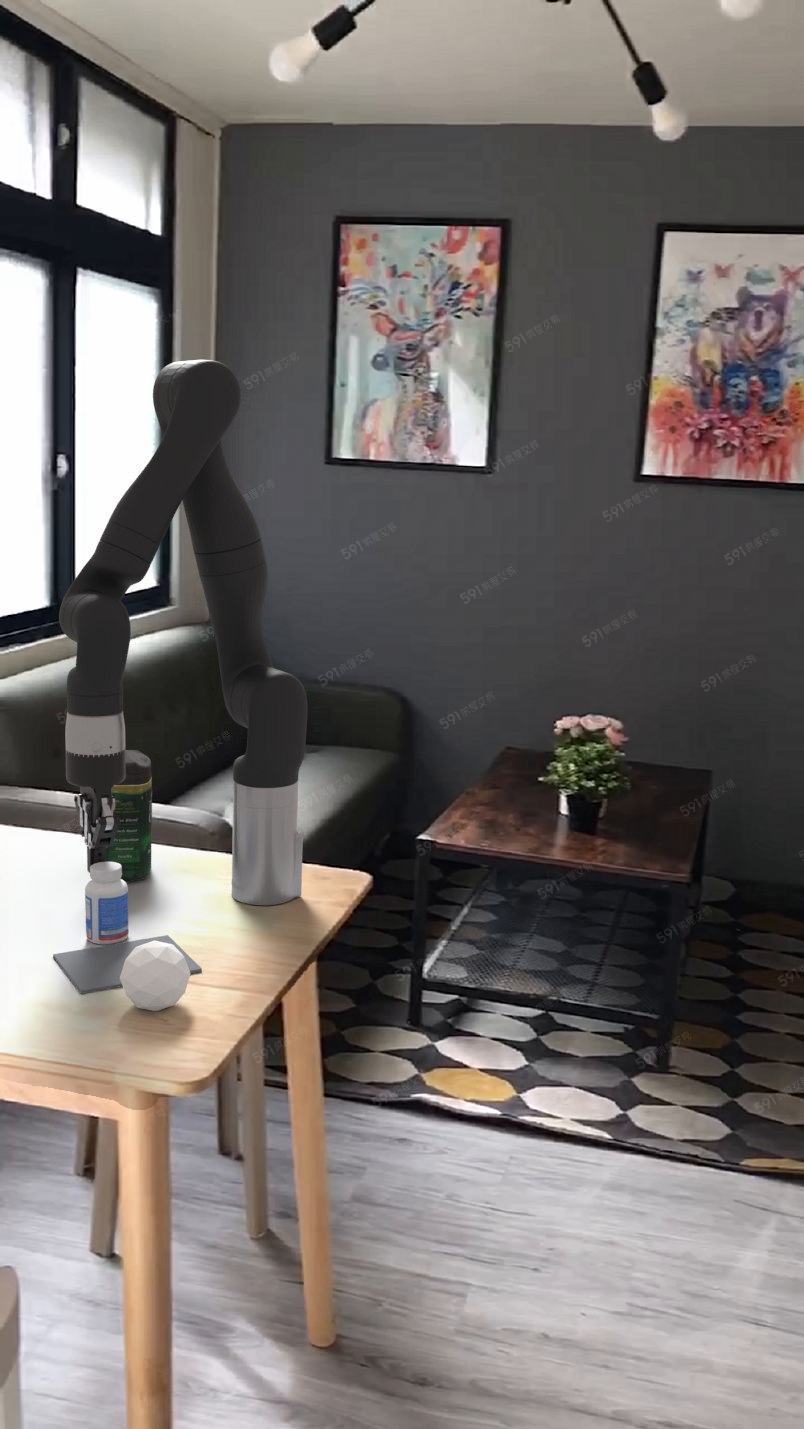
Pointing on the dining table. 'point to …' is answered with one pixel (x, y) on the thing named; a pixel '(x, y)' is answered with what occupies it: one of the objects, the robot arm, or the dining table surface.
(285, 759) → the robot arm
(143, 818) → the coffee jar
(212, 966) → the dining table surface
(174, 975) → the geometric ball
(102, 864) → the pill bottle
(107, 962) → the mat
